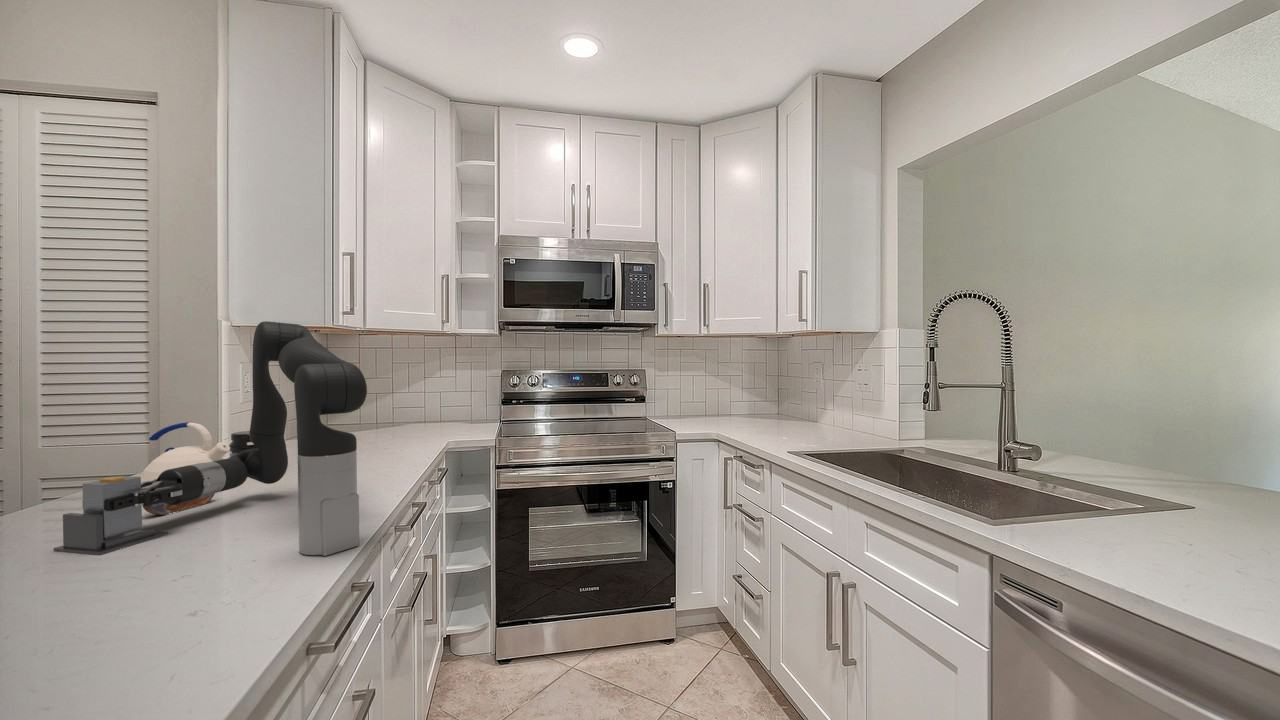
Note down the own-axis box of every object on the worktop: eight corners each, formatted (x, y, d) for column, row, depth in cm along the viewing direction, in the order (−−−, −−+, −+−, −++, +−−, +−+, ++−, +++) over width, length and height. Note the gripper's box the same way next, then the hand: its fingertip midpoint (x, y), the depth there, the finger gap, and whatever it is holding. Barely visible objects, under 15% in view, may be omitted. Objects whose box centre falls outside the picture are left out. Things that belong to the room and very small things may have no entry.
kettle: (195, 500, 129) (194, 427, 129) (111, 501, 129) (110, 427, 129) (256, 481, 149) (255, 417, 149) (184, 481, 149) (183, 418, 149)
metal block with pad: (122, 526, 103) (120, 473, 103) (142, 528, 102) (140, 474, 101) (84, 537, 97) (82, 481, 97) (104, 539, 96) (102, 482, 96)
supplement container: (280, 467, 167) (279, 429, 167) (252, 475, 156) (252, 434, 156) (249, 467, 168) (249, 429, 168) (220, 474, 157) (219, 434, 157)
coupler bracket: (125, 530, 106) (124, 498, 106) (167, 534, 103) (167, 501, 103) (53, 550, 95) (53, 514, 95) (99, 555, 93) (99, 518, 93)
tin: (149, 519, 113) (149, 480, 113) (138, 519, 114) (137, 480, 114) (218, 500, 128) (218, 466, 128) (208, 500, 129) (207, 466, 129)
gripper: (165, 463, 115) (65, 483, 98) (218, 466, 111) (124, 486, 95) (166, 498, 115) (67, 523, 98) (219, 501, 112) (125, 527, 95)
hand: (96, 504), depth 97 cm, fingers closed on metal block with pad, 5 cm apart
